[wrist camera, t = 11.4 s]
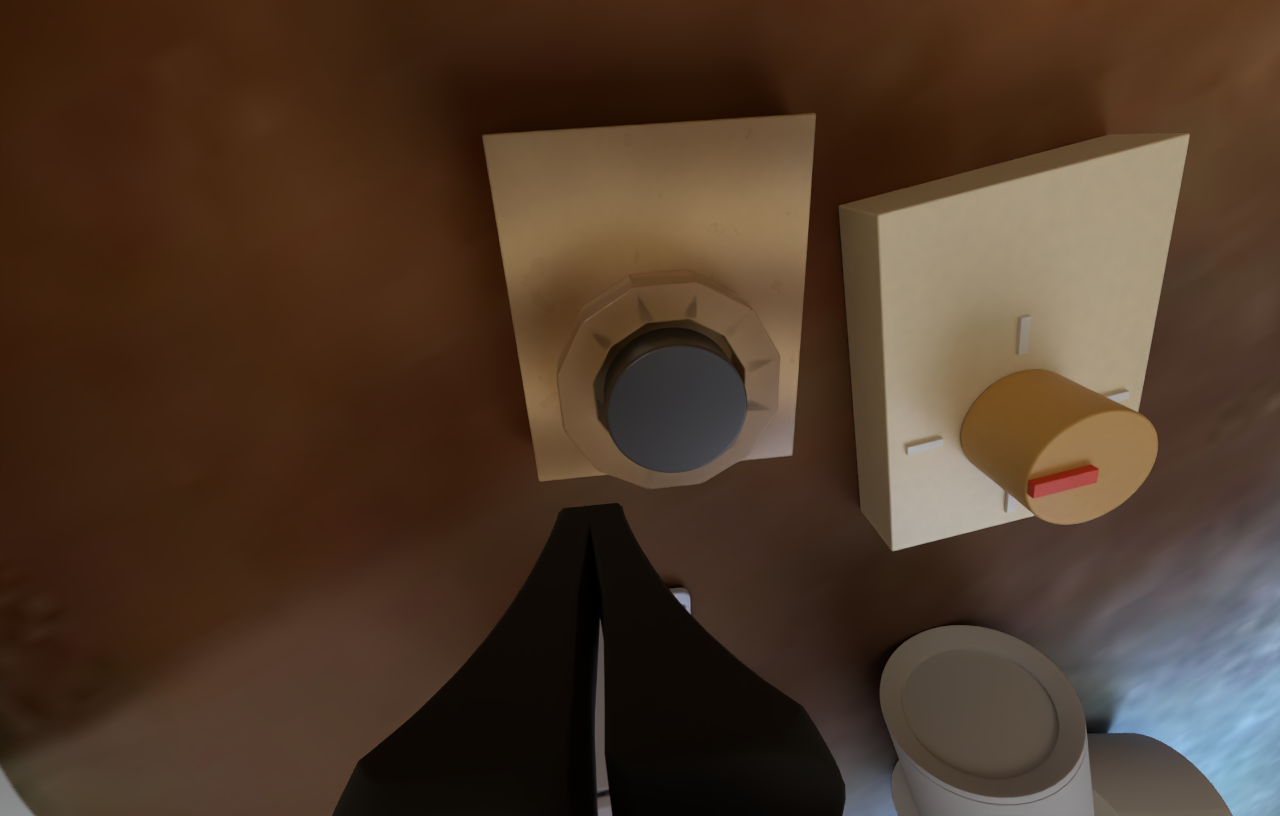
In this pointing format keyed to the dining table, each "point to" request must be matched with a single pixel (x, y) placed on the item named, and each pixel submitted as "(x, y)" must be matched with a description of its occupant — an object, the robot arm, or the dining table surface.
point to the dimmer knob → (1058, 445)
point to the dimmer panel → (996, 311)
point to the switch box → (653, 270)
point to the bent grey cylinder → (1017, 738)
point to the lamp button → (673, 400)
